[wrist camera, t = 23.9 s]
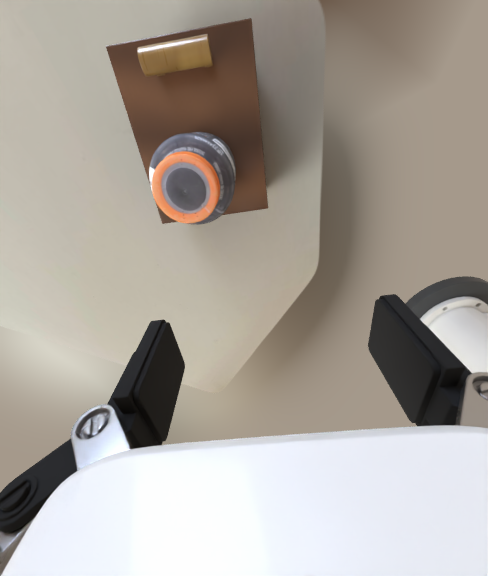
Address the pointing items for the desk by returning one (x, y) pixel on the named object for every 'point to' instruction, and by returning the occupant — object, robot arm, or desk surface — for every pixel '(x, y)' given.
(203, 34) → the lid
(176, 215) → the pill bottle
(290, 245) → the desk surface
